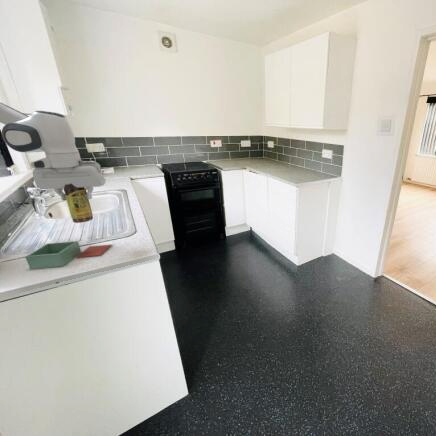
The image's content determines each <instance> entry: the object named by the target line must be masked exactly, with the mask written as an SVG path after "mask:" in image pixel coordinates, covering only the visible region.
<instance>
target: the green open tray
mask: <svg viewBox="0 0 436 436" xmlns="http://www.w3.org/2000/svg"><path fill="white" fill-rule="evenodd" d="M81 253H82V249H81V247H80V243H79V240H78V241H77V240H75V241H74V240H73V241H63V242H62V241H61V242H50V243H46V244H44V245H43V246H41V247H39V248H37V249H36V250H34V251H32V252H30V253H29V254H27V255H25V257H24V258H25V260H26V262H27V265H28V267H29V269H30V270H37V269H38V270H39V269H49V268H58V267H65V266H66V265H67V264H69V263H70V262H71V261H72V260H74V259H75V258H77V256H78V255H79V254H81Z"/></svg>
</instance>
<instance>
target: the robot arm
mask: <svg viewBox="0 0 436 436" xmlns="http://www.w3.org/2000/svg"><path fill="white" fill-rule="evenodd" d="M0 123H1V124H3V125H4V126H3V127H2V129H1V138H2V140H3V142H4V143H5V144H6V146H7V147H8V148H10V149H12V150H14V151H15V152H18V153H26V154H27V153H28V154H29V153H30V154H31V153H44V155H45V157H43V158H40V159H36V160H33V161H31V162H30V167H31V168H32V169H33V170H32V176H33V180H34V184H35V187H36V188H38V189H39V190H54V192H55V193H56V194H57V195H58V196H59V197H60V199H61V201H62V202H63V201H67V200H66V197H65V192H64V187H65V184H73V185H74V186H75V187H77V188H80V187H85V189H86V191H87V194H85V195H84V196H85V199H89V200H92V199H93V195H92V193H93V190H94V188H98V187H99V188H100V187H103V186H105V184H106V179H105V176H104V174H103V172H102V167H101V164H100V163H99V162H97V161H95V160H82V159H81V155H80V151H79V149H78V148H77V146H76V137H75V135H74V132H73V128H72V126H71V124H70V122H69V120H68V118H67V117H66V116H65V115H63V114H61V113H58V112H53V111H46V110H34V111H33V112H32V113H31V115H27V114H25V113H23V112H21V111H19V110H17V109H16V108H13V107H11V106H9V105H7V104H6V103H3V102H0Z"/></svg>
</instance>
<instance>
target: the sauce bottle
mask: <svg viewBox="0 0 436 436" xmlns="http://www.w3.org/2000/svg"><path fill="white" fill-rule="evenodd" d="M87 191H88V190H86V189H85V187H80V188H77V187H75V186H74V185H73V184H65V187H64V188H63V193H64V194H65V197H66V200H65V201H66V204H67V207H68V210H69V215H70V217H71V220H72V222H73V223H76V224H79V223H80V224H81V223H86V222H90V221H92V220H93V219H94V217H93V215H94V214H93V210H92V206H91V203H90V201H89V200H90V199H85V196H84V195H85V194H87Z"/></svg>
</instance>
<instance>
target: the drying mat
mask: <svg viewBox="0 0 436 436" xmlns="http://www.w3.org/2000/svg"><path fill="white" fill-rule="evenodd" d="M111 247H112V244H104V245H102V244H101V245H93V246H92V245H90V246H89V247H87V248H86V249H84V250H83V251H81V253H80V254H79V255H78V256H76V259H80V258H92V257H101V256H102V255H103V254H104V253H105V252H106V251H107V250H109V249H110V248H111Z"/></svg>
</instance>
